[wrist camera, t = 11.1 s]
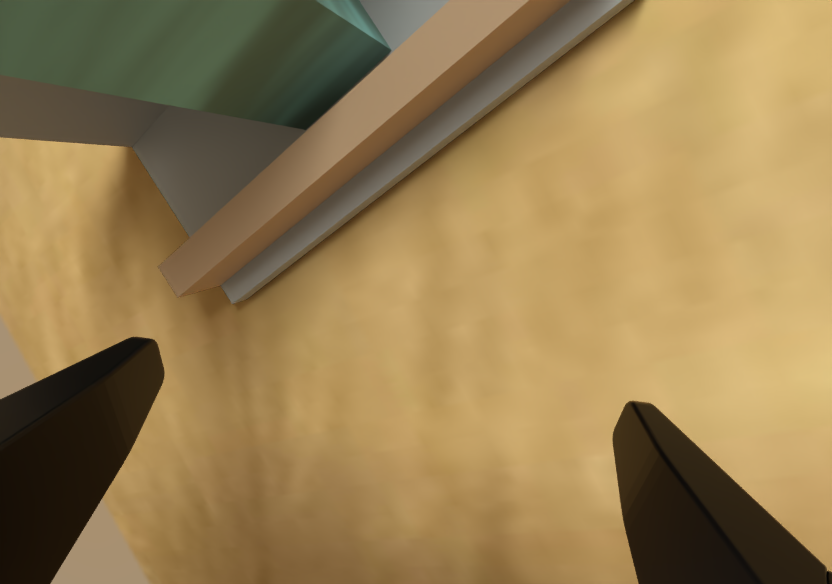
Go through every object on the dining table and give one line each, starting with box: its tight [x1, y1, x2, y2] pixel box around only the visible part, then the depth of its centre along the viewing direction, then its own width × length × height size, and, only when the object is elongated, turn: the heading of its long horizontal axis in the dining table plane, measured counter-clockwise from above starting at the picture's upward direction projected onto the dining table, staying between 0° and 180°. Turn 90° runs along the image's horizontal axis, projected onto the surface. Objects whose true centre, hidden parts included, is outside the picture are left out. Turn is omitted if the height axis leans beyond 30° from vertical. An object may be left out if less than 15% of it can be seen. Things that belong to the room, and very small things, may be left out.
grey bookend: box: [0, 0, 634, 304], centre depth 15 cm, size 11×20×10 cm, turn 125°
